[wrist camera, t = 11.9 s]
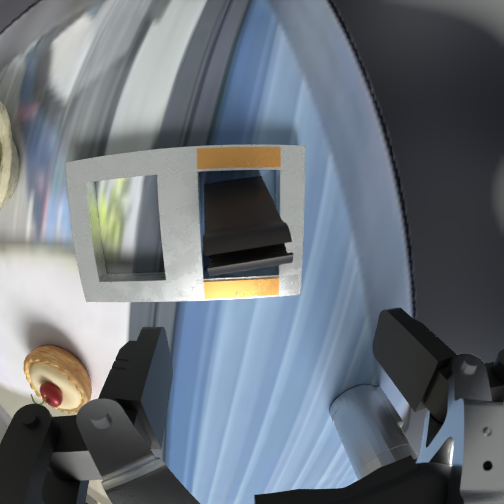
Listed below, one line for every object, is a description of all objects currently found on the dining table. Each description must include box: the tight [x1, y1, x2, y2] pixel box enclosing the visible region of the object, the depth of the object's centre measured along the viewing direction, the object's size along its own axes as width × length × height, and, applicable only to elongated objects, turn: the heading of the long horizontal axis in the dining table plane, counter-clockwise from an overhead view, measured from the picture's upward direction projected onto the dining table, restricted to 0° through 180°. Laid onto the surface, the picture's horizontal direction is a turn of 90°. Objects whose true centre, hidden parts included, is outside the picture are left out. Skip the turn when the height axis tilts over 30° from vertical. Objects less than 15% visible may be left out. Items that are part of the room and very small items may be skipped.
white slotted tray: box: [66, 144, 305, 302], centre depth 29 cm, size 25×16×3 cm, turn 91°
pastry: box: [24, 345, 92, 414], centre depth 30 cm, size 12×12×9 cm
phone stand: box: [203, 176, 293, 276], centre depth 25 cm, size 9×6×12 cm, turn 7°
